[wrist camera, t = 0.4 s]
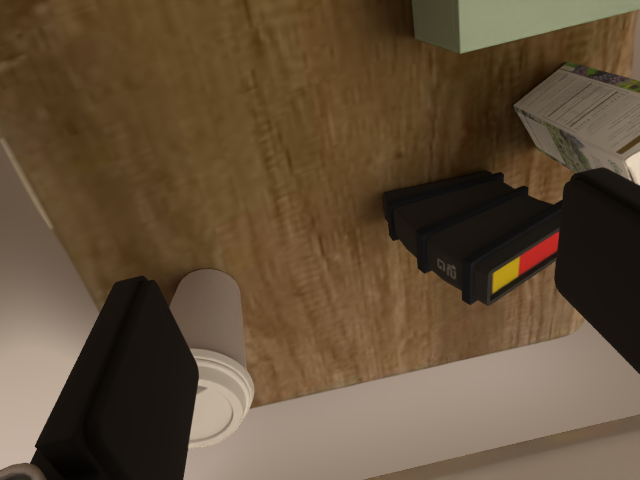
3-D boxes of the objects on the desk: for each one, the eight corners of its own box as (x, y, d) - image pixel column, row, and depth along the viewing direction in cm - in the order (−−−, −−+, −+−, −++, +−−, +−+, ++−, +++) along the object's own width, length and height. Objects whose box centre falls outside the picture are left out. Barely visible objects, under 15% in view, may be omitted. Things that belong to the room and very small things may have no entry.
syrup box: (590, 109, 40) (739, 164, 28) (534, 151, 42) (652, 221, 29) (566, 60, 38) (718, 96, 25) (508, 106, 39) (624, 162, 27)
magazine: (351, 203, 40) (484, 270, 29) (453, 156, 45) (600, 198, 34) (356, 237, 42) (483, 313, 31) (453, 189, 47) (592, 238, 36)
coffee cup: (239, 245, 43) (231, 356, 30) (265, 317, 48) (268, 438, 35) (146, 269, 43) (98, 389, 30) (181, 337, 48) (153, 466, 35)
